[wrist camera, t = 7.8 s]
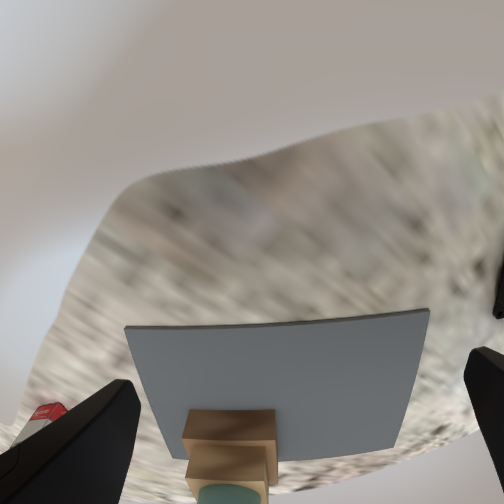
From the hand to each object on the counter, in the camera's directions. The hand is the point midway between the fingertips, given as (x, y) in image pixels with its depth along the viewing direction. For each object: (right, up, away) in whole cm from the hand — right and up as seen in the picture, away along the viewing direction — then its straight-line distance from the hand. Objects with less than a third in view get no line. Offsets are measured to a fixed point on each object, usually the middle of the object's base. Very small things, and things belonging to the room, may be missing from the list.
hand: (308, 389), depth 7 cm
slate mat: (+1, -9, +17) cm, 19 cm away
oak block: (-3, -14, +15) cm, 20 cm away
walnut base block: (-3, -13, +18) cm, 22 cm away
